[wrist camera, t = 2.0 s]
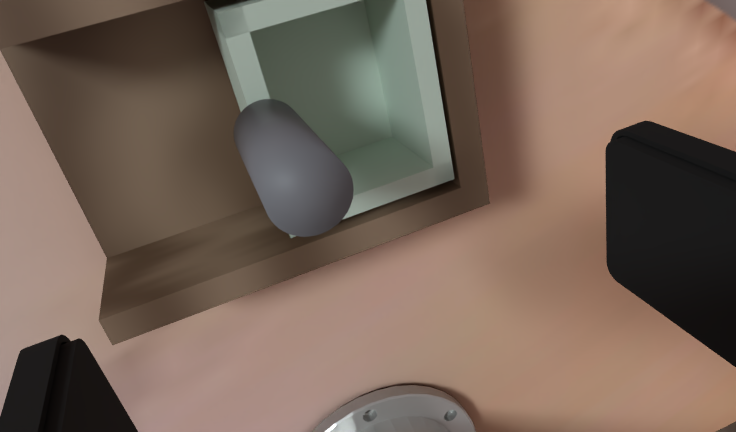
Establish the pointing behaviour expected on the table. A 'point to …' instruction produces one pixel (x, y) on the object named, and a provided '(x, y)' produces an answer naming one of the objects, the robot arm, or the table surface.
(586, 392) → the table surface
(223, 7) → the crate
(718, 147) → the robot arm
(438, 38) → the bay
